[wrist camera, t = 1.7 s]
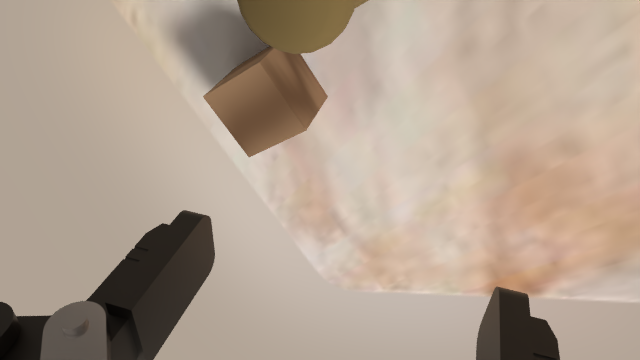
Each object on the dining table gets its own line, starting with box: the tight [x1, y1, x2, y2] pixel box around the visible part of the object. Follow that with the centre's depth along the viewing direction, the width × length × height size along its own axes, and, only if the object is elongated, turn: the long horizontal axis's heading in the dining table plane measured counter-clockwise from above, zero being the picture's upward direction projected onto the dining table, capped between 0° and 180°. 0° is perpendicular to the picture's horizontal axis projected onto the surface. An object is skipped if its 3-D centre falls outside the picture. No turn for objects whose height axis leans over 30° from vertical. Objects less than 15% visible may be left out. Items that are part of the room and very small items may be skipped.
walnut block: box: [203, 46, 328, 157], centre depth 32 cm, size 5×5×5 cm
